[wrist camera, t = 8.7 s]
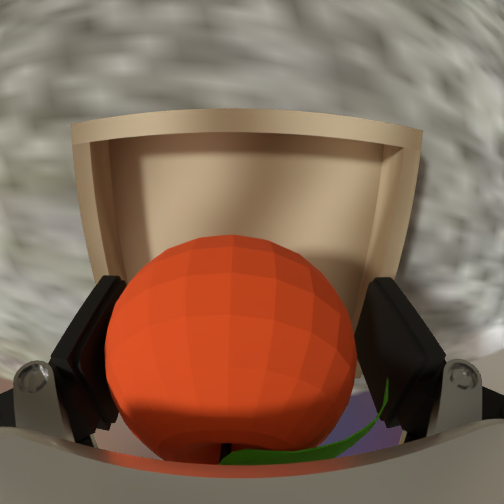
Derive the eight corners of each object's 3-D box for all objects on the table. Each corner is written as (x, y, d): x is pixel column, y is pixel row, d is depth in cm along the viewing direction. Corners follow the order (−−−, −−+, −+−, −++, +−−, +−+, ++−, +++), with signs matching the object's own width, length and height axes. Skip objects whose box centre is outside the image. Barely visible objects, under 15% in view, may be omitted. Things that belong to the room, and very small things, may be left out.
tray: (393, 125, 11) (422, 130, 9) (348, 348, 17) (359, 377, 15) (99, 120, 11) (71, 124, 8) (137, 347, 16) (127, 377, 14)
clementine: (366, 208, 10) (502, 350, 3) (330, 353, 13) (369, 494, 6) (133, 198, 9) (-3, 345, 3) (154, 349, 12) (118, 494, 6)
